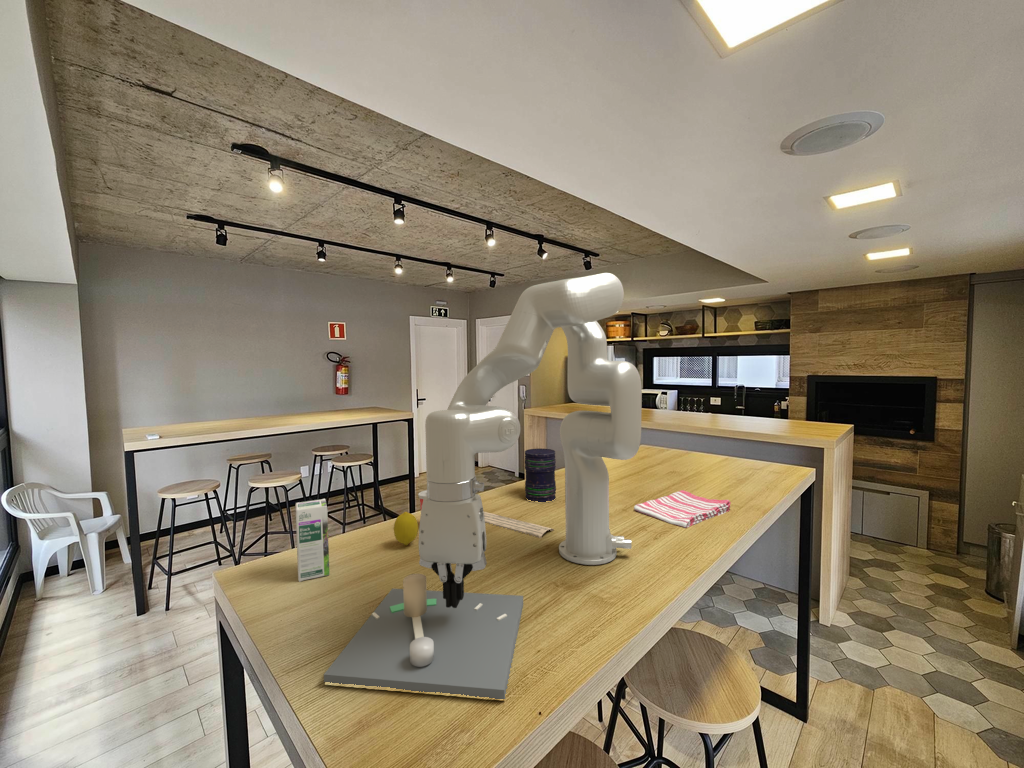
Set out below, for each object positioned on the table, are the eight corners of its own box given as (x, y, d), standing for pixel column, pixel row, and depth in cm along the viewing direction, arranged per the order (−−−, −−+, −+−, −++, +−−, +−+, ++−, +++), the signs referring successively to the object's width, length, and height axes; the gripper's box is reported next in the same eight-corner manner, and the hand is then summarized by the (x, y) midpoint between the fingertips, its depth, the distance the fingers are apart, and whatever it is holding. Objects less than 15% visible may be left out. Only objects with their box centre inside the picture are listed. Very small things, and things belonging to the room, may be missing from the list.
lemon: (412, 551, 97) (411, 516, 97) (389, 549, 98) (389, 515, 98) (422, 541, 103) (421, 508, 102) (400, 539, 104) (400, 507, 103)
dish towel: (733, 511, 122) (733, 499, 122) (686, 530, 108) (686, 517, 108) (679, 497, 136) (679, 486, 135) (631, 512, 122) (631, 500, 122)
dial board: (523, 604, 75) (523, 594, 75) (504, 701, 53) (504, 688, 53) (392, 596, 78) (392, 587, 78) (324, 685, 56) (323, 672, 56)
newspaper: (469, 521, 118) (469, 515, 118) (486, 514, 123) (486, 508, 123) (541, 541, 104) (541, 533, 104) (556, 532, 109) (556, 525, 109)
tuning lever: (436, 663, 57) (435, 618, 57) (409, 669, 56) (408, 624, 56) (425, 604, 72) (424, 569, 72) (403, 608, 71) (402, 572, 70)
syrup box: (298, 582, 84) (295, 509, 83) (297, 570, 89) (295, 501, 88) (329, 575, 86) (327, 504, 86) (327, 564, 91) (325, 497, 91)
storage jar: (526, 493, 141) (526, 448, 140) (556, 494, 140) (556, 448, 139) (523, 502, 131) (522, 454, 131) (555, 503, 130) (554, 454, 129)
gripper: (502, 483, 70) (504, 593, 71) (414, 481, 72) (417, 588, 73) (493, 497, 62) (495, 620, 63) (396, 494, 65) (399, 613, 65)
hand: (453, 602), depth 68 cm, fingers closed
